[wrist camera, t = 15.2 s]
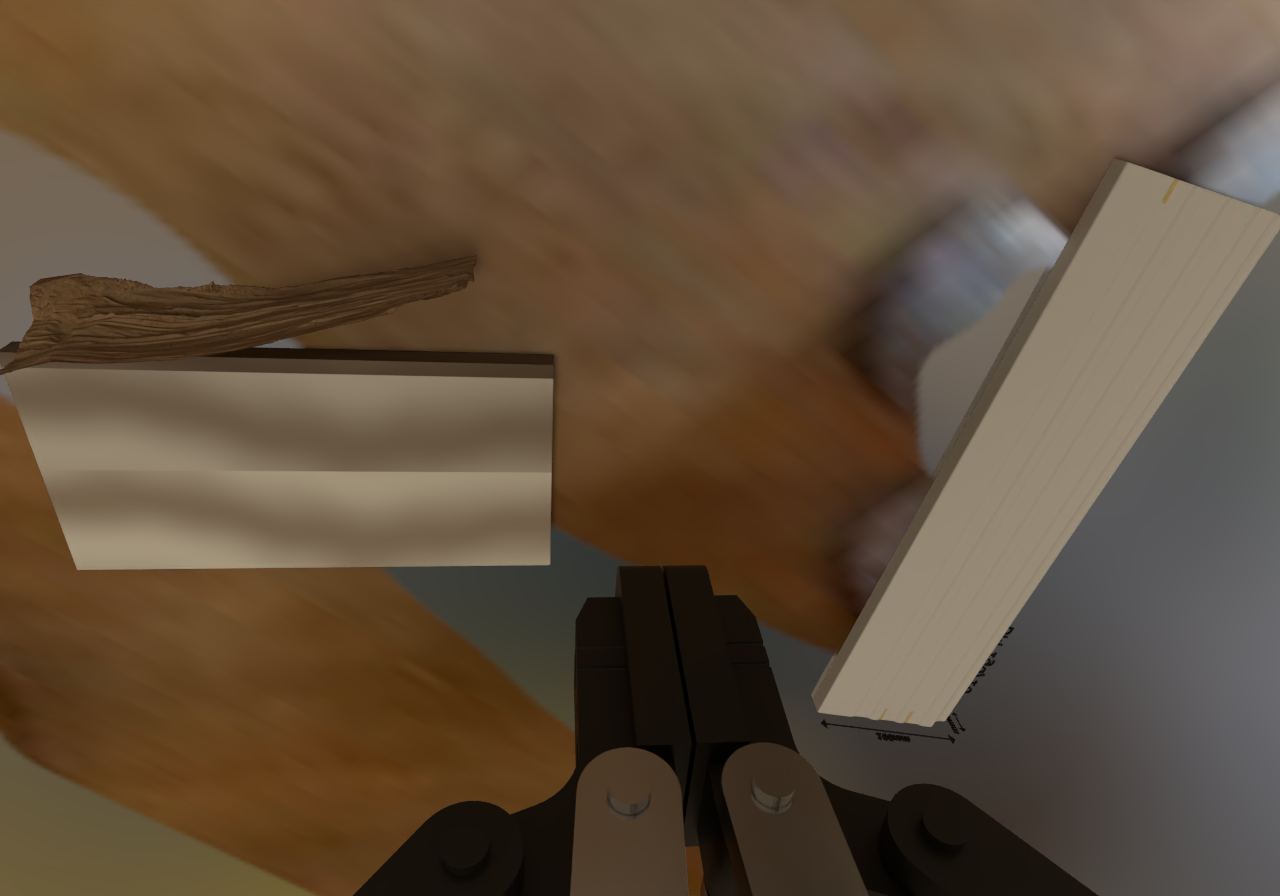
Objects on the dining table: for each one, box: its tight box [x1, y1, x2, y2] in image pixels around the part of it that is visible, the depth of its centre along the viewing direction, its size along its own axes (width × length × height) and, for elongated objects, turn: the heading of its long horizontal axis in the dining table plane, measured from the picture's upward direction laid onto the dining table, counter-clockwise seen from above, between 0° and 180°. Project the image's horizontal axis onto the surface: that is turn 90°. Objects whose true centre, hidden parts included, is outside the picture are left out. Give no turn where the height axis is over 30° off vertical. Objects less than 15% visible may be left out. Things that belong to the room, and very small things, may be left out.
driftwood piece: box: [0, 255, 476, 375], centre depth 26 cm, size 15×2×5 cm, turn 97°
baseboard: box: [811, 158, 1280, 743], centre depth 37 cm, size 30×3×10 cm
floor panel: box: [0, 342, 554, 570], centre depth 32 cm, size 10×20×1 cm, turn 86°
